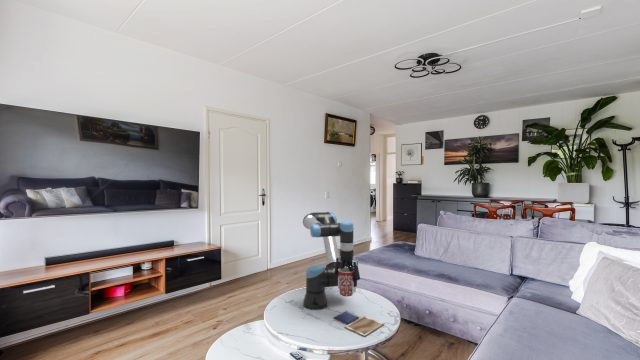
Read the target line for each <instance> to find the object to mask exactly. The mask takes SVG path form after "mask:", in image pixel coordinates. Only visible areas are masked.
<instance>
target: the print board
mask: <svg viewBox="0 0 640 360" xmlns="http://www.w3.org/2000/svg"><path fill="white" fill-rule="evenodd" d="M384 325H385V323H382V322H380V321H377V320H375V319H372V318H370V317H368V316H365V315H364V316H361V317H359V319H357V320H356V321H354V322H352V323H350V324H348V325H345V326H344V329H345V330H348V331H350V332H352V333H354V334H357V335H359V336H361V337H363V338H366V337H368V336H369V335H371V334H373V333H375V332H376V331H377V330H379V329H380V328H382V327H384Z"/></svg>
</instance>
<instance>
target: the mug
mask: <svg viewBox="0 0 640 360" xmlns="http://www.w3.org/2000/svg"><path fill="white" fill-rule="evenodd" d="M338 271H339V288H338V289H339V295H340V296H342V297H352V296H353V295H354V293H352V281H353V278H352V275H353V273H354V271H353V272H350V270H349V269H348V267H347V268H343V269H341V268H340V269H338Z"/></svg>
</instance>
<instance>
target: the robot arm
mask: <svg viewBox="0 0 640 360" xmlns="http://www.w3.org/2000/svg"><path fill="white" fill-rule="evenodd" d="M302 224H303V227H305V229H306V230H309V232H310V236H311V238H322V240H323V244H324V251H325V256H326V261H327V264H325V265H323V264H314V265H311V266H309V267H307V269H306V271H305V273H306V274H305V284H306V285H305V295H304V299H303V301H302V303H303V307H304V308H305V309H308V310H314V311H315V310H322V309H325V308H327V307H328V305H329V304H328V298H327V295H326V291H325V290H326V289H325V288H330V287H331V288H333V287H337V289H339V271H338V269H340V268H341V269H343V268H348V269H349V270H350V272H353V271H354V273H353V275H352V278H353V281H352V293H353V294H354V293H356V292H357V287H358V281H359V280H361V276H360V271H359V261H358V260H356V261H355V260H354V228H355V227H354V223H353V222H352V221H341V222H338V219H337V216H336V214H335V212H332V211H324V212H323V211H321V212H318V211H317V212H310V213H307V214H306V215H305V216H304V217H303V219H302ZM336 237H339V248H338V242H337V239H336ZM339 249H340V250H339Z"/></svg>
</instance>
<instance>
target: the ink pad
mask: <svg viewBox="0 0 640 360" xmlns="http://www.w3.org/2000/svg"><path fill="white" fill-rule="evenodd" d="M358 319H360V317H359V316H356V315H354V314H351V313H349V312H347V311H344V312H342V313H339V314H337V315H336V316H333V320H335V321H338V322H340V323H342V324H344V325H345V326H347V325H349V324H350V323H352V322H354V321H356V320H358Z"/></svg>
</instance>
